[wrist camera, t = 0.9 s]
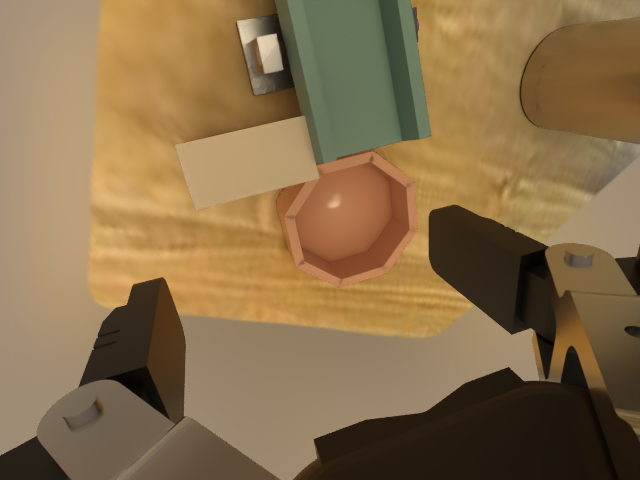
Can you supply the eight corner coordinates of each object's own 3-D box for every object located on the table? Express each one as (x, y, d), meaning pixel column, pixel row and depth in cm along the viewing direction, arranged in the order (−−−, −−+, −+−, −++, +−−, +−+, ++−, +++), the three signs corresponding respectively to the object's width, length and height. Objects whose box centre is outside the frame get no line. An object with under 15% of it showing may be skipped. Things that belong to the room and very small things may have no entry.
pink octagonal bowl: (390, 134, 34) (411, 141, 31) (400, 245, 39) (419, 262, 36) (266, 164, 32) (274, 176, 29) (294, 277, 37) (303, 299, 34)
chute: (358, -76, 25) (395, -144, 19) (398, 153, 28) (438, 152, 23) (120, -41, 22) (84, -109, 17) (199, 205, 26) (191, 217, 20)
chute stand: (374, -3, 29) (419, -22, 23) (380, 67, 32) (423, 65, 26) (235, 22, 28) (244, 8, 21) (253, 94, 30) (265, 100, 24)
